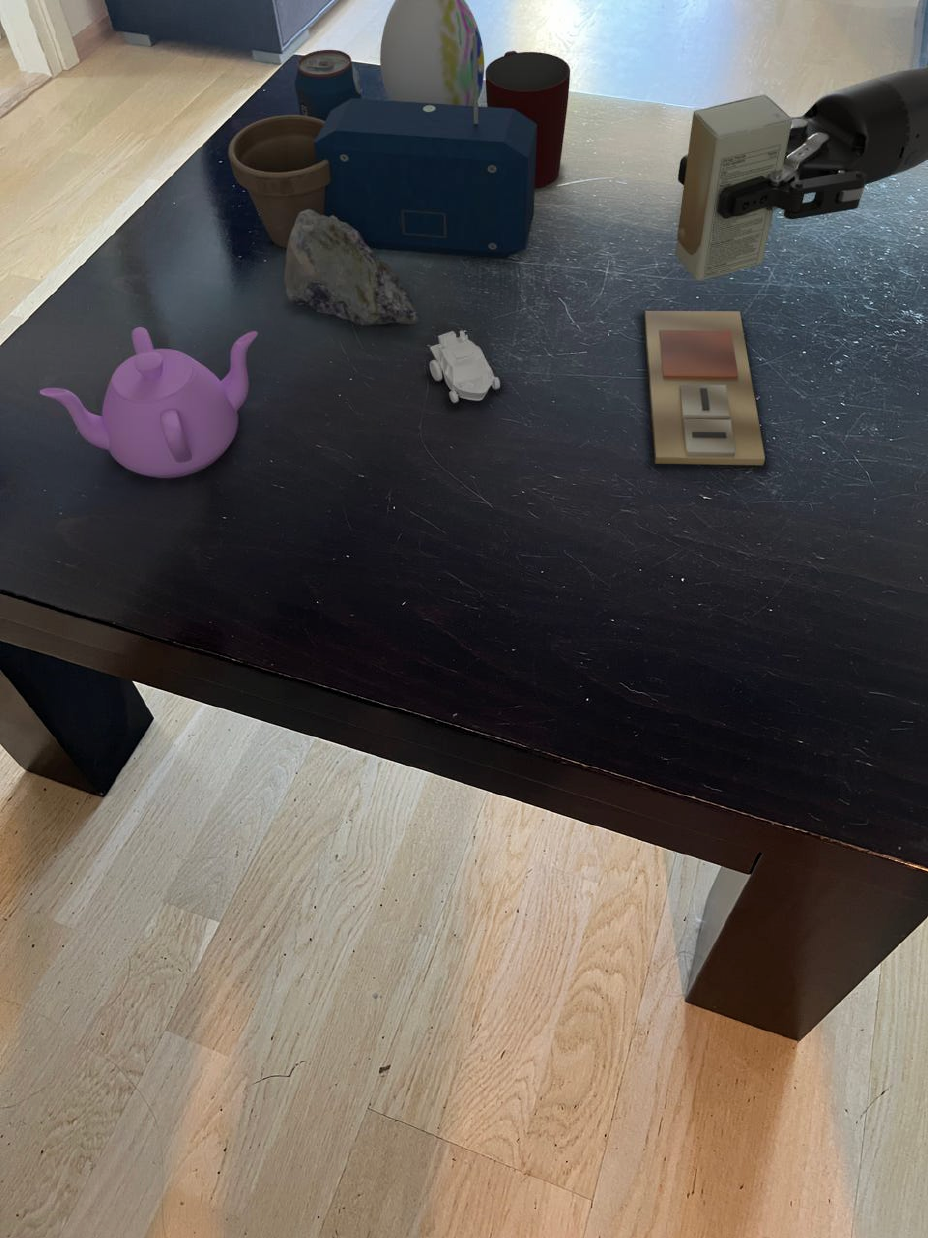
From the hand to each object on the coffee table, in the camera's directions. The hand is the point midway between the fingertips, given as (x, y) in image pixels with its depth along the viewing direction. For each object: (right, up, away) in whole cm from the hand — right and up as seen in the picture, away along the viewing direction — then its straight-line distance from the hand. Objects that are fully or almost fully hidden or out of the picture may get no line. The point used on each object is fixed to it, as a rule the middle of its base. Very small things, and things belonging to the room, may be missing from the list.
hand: (702, 188), depth 75 cm
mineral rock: (-29, -3, +21) cm, 36 cm away
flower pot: (-36, +8, +30) cm, 47 cm away
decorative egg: (-22, +29, +45) cm, 57 cm away
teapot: (-44, -17, +11) cm, 48 cm away
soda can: (-33, +18, +37) cm, 53 cm away
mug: (-12, +19, +37) cm, 43 cm away
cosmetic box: (+3, -3, +7) cm, 8 cm away
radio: (-22, +8, +29) cm, 37 cm away
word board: (+3, -12, +13) cm, 18 cm away
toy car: (-18, -12, +14) cm, 26 cm away
